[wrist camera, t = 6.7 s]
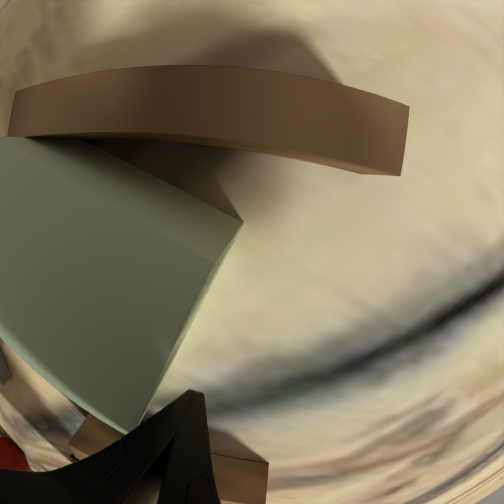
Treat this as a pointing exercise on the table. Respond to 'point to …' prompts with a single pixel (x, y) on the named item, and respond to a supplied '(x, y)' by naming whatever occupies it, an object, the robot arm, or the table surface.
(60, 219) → the sage block
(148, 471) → the robot arm
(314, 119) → the set of wooden bars
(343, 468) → the table surface
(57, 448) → the table surface
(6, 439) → the apple
